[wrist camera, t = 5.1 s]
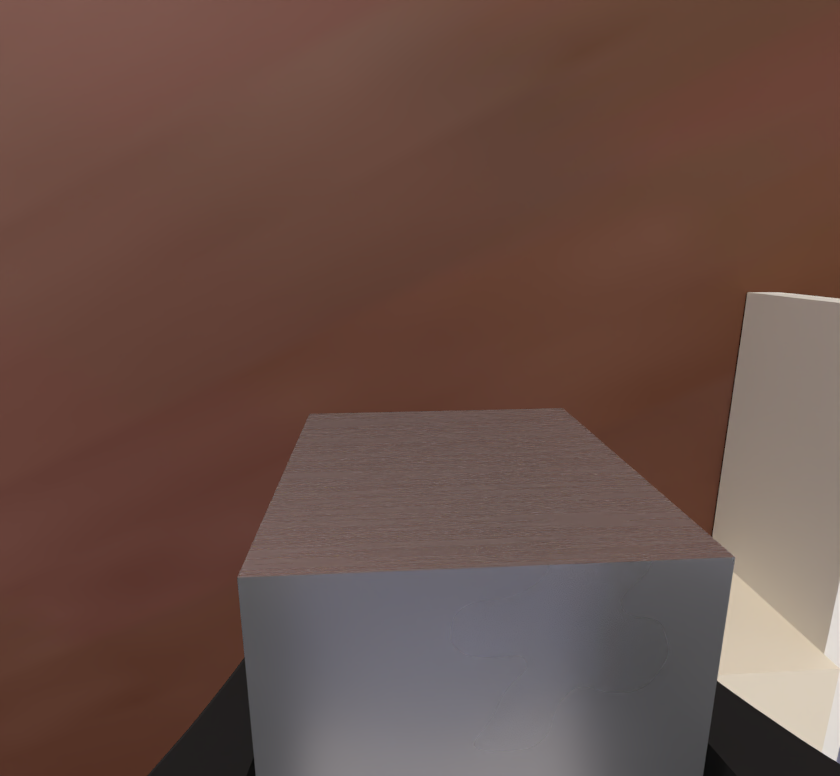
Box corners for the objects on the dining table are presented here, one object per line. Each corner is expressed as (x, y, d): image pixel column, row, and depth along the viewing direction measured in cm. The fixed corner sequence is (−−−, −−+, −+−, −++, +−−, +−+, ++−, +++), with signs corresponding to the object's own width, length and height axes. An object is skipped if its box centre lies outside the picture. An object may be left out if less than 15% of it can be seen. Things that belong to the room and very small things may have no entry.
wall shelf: (778, 292, 17) (963, 311, 12) (673, 957, 24) (759, 1163, 18) (619, 292, 16) (733, 312, 11) (558, 967, 23) (612, 1180, 18)
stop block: (562, 408, 10) (735, 556, 5) (541, 767, 12) (651, 1124, 7) (309, 413, 10) (237, 578, 5) (329, 781, 12) (291, 1164, 7)
